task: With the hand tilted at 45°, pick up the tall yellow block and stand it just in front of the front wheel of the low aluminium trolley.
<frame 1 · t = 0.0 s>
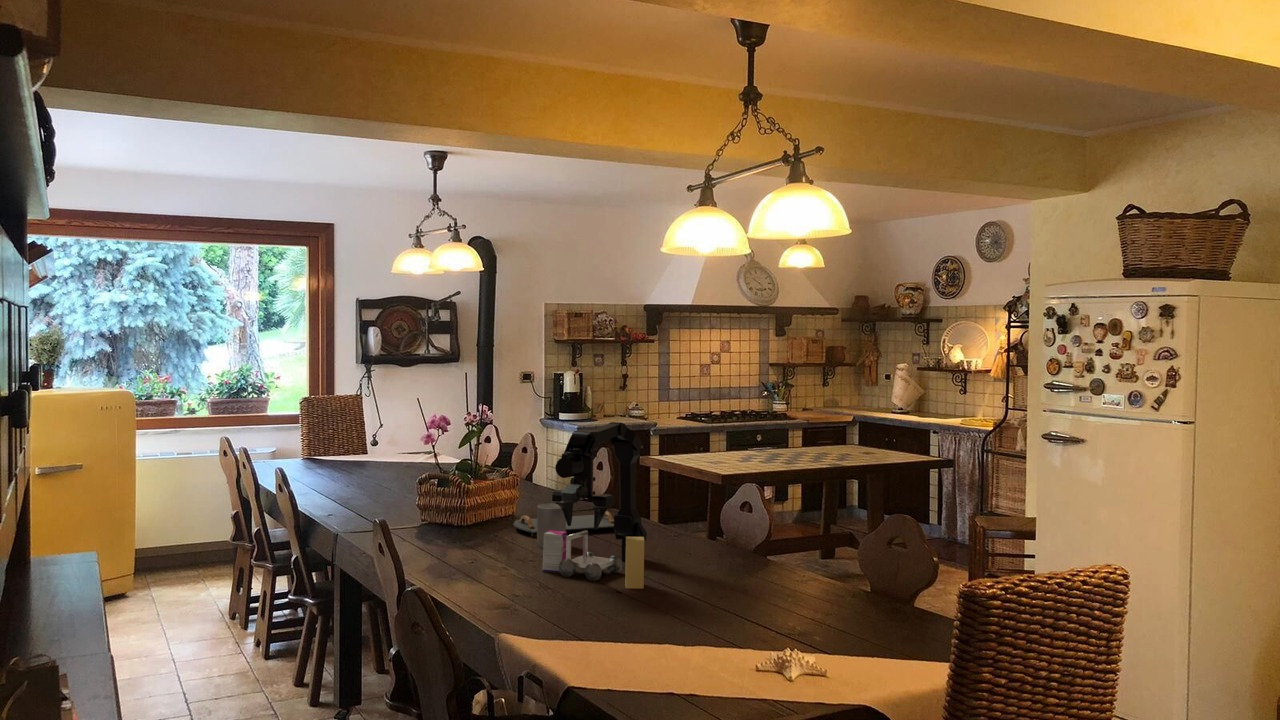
hand: (582, 527, 278), 15 cm above the table, tool pointing down, fingers open, 9 cm apart
tall yellow block: (634, 586, 270), on the table
supplement box: (554, 570, 287), on the table
trolley: (590, 574, 283), on the table
serving board: (566, 531, 350), on the table
pillar candle: (551, 546, 321), on the table
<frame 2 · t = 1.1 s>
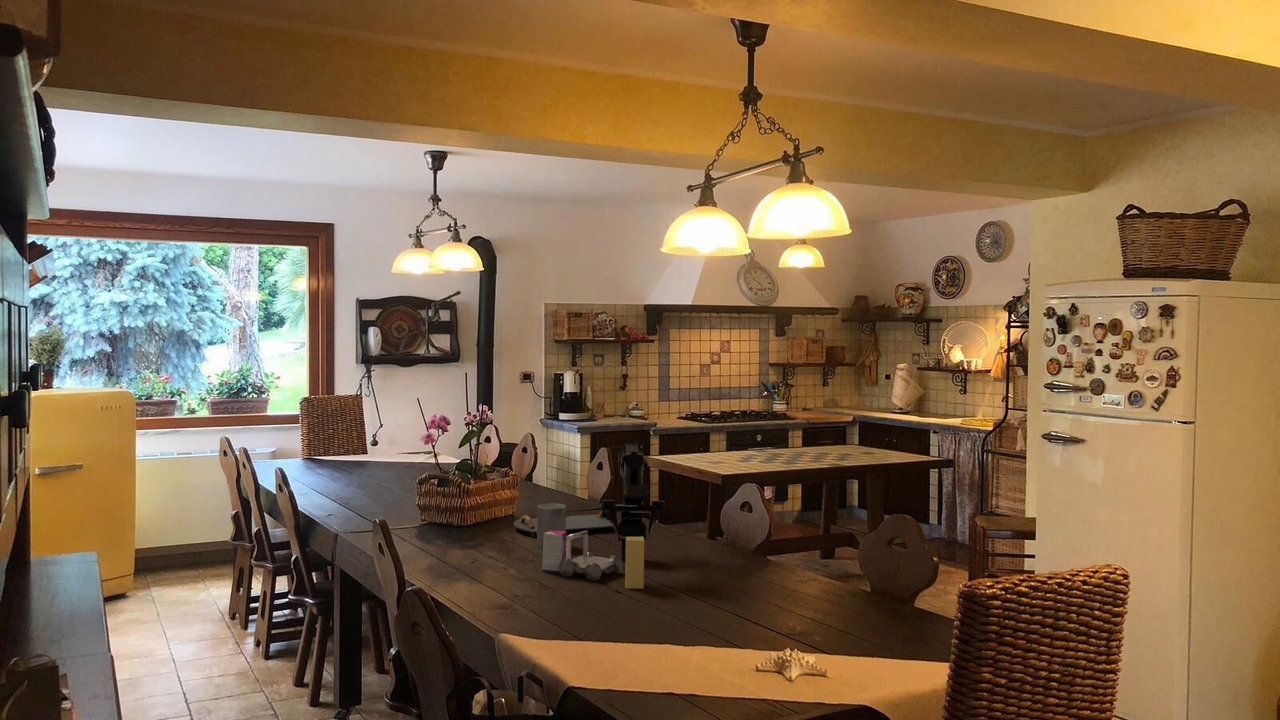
hand: (633, 533, 278), 13 cm above the table, tool tilted 45°, fingers open, 9 cm apart
nothing on the table moved.
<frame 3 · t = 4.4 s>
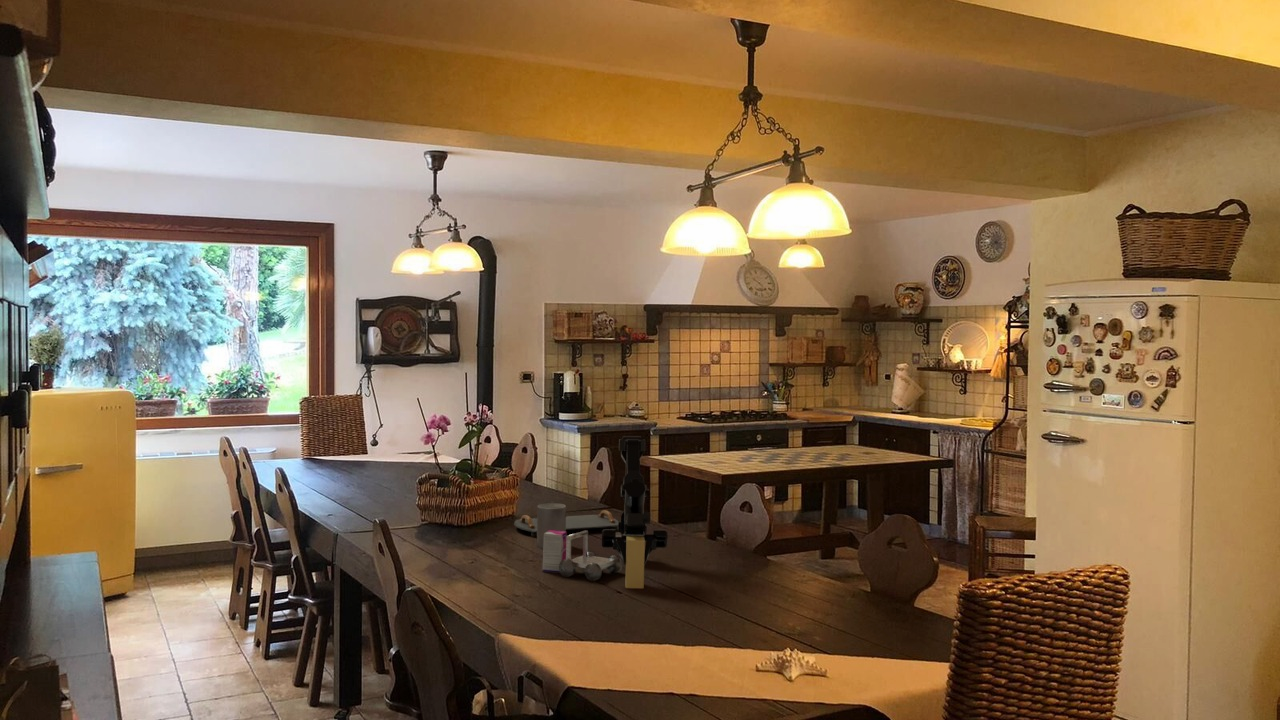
hand: (634, 564, 269), 7 cm above the table, tool tilted 45°, fingers closed on tall yellow block, 5 cm apart
tall yellow block: (634, 585, 270), on the table, touching gripper
when the fingers open (8 cm above the table, at t = 8.5 s): tall yellow block drops 1 cm, on the table.
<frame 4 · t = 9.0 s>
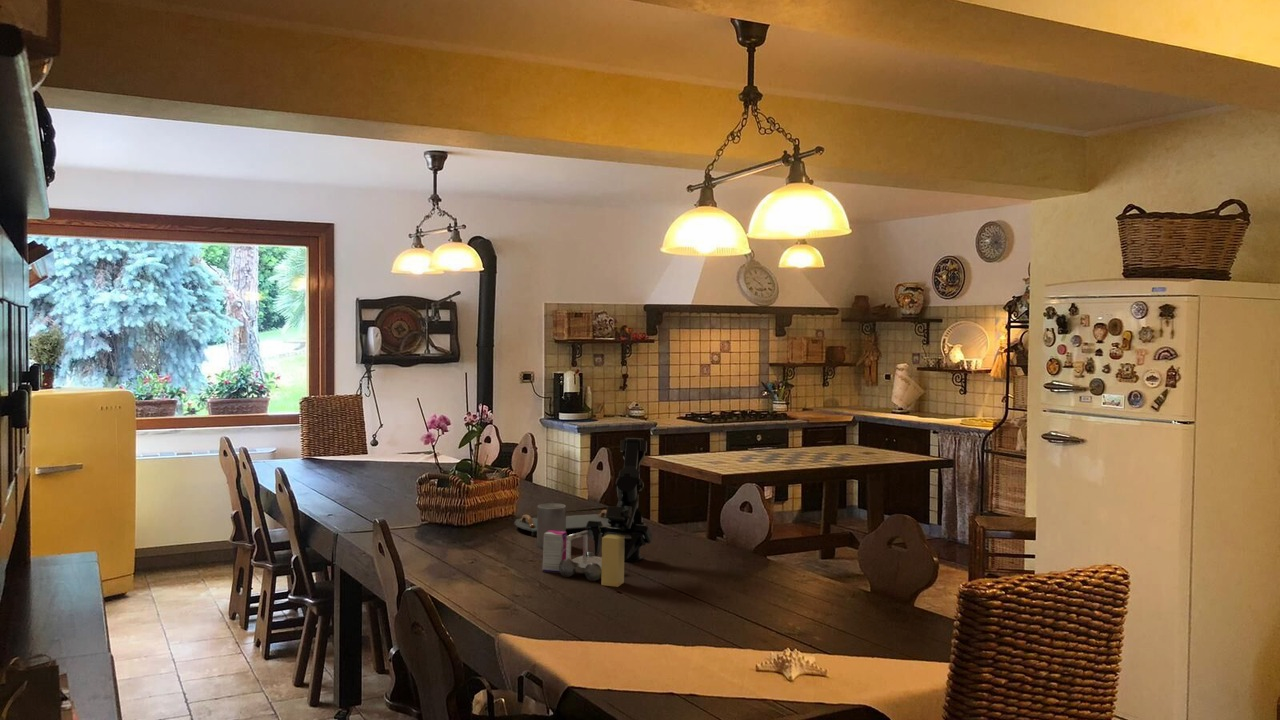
hand: (611, 556, 271), 8 cm above the table, tool tilted 45°, fingers open, 9 cm apart
tall yellow block: (612, 583, 272), on the table
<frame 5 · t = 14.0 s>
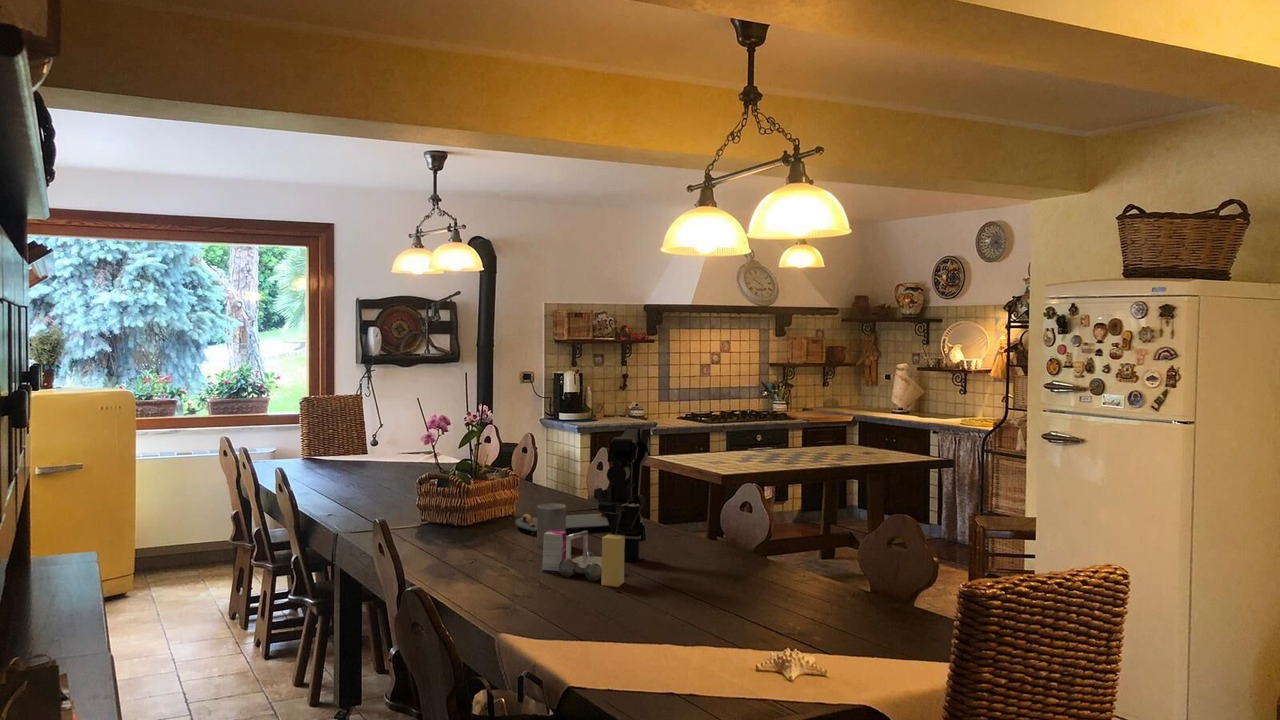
hand: (621, 532, 286), 12 cm above the table, tool pointing down, fingers open, 9 cm apart
at the end: tall yellow block 0.4 cm from the target spot, on the table; tall yellow block tilted 0°; the gripper is holding nothing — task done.
